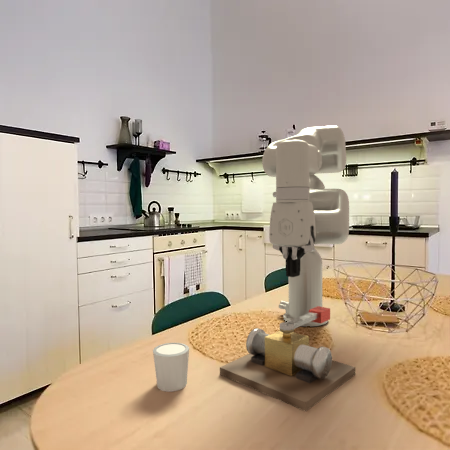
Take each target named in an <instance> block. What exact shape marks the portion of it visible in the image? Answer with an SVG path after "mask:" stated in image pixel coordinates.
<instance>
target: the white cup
mask: <svg viewBox="0 0 450 450" xmlns="http://www.w3.org/2000/svg"><path fill="white" fill-rule="evenodd" d="M152 353H153V362H154V363H153V364H154V372H155V377H156V378H155V379H156V386H157V389H159V391H162V392H169V393H170V392H177V391H180V390H183V389H184V388H185V387H186V386H187V384H188V371H189V356H190V347H189V345H187V344H185V343H182V342H167V343H166V342H165V343H162V344H159V345H157V346H155V347H154V348H153V349H152Z"/></svg>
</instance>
